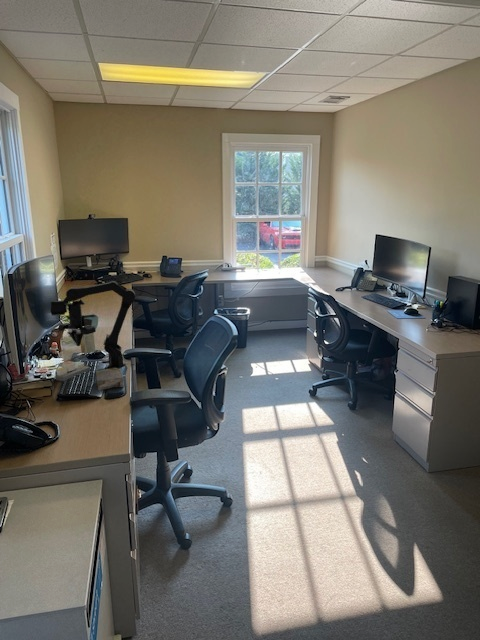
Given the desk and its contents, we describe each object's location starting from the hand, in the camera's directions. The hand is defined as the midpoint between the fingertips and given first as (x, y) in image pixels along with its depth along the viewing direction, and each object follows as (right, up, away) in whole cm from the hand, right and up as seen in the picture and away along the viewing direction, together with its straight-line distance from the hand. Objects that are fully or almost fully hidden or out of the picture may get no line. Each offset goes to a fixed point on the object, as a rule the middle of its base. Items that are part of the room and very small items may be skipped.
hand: (78, 345), depth 220 cm
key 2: (-2, -11, -5) cm, 12 cm away
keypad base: (-2, -13, -4) cm, 14 cm away
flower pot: (-20, +6, +79) cm, 82 cm away
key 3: (-5, -14, -9) cm, 17 cm away
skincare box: (-4, -6, +27) cm, 28 cm away
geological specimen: (+20, -16, -17) cm, 31 cm away
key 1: (0, -11, 0) cm, 11 cm away
